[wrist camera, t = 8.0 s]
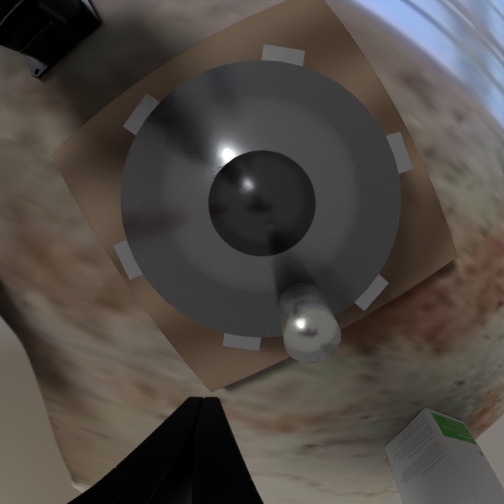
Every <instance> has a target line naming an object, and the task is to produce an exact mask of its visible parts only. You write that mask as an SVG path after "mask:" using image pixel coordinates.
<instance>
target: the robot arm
mask: <svg viewBox="0 0 504 504" xmlns="http://www.w3.org/2000/svg"><path fill="white" fill-rule="evenodd" d="M94 22H95V24H94V25H92V24H93V23H94ZM100 24H101V20H100V18H99V17H98V15H97V13H96V12H95V10H94V8H93V7H92V5H91V3H90V2H89V0H0V45H1V46H4V47H6V48H9V49H12V50H14V51H17V52H20V53H21V54H24V56H25V58H26V61H27V63H28V66H29V68H30V71H31V73H32V76H33V77H34V78H41V77H42V76H43V75H44V74H45V73H46V72H47V71H48V70H49V69H50V68H51V67H52V66H53V65H54V64H55V63H57V62H58V61H59V60H60V59H61V58H62V57H63V56H64V55H65V54H67V53H68V52H69V51H70V50H71V49H72V48H73V47H75V46H76V45H77V44H78V43H79V42H81V41H82V40H83V39H84V38H86V37H87V36H88V35H89V34H91V33H92V32H93V31H94V30H96V29H97V28H98V27H99V26H100ZM38 71H39V73H38ZM37 73H38V74H37ZM67 504H264V503H263V501H262V499H261V497H260V495H259V493H258V491H257V489H256V487H255V485H254V482H253V481H252V478H251V476H250V474H249V471H248V469H247V467H246V464H245V462H244V460H243V457H242V455H241V453H240V450H239V448H238V445H237V443H236V440H235V438H234V435H233V433H232V430H231V428H230V425H229V423H228V420H227V418H226V415H225V412H224V410H223V407H222V405H221V402H220V399H219V398H218V397H205V398H203V397H189V398H187V399H186V400H185V401H184V402H183V403H182V404H181V405H180V406H179V407H178V408H177V409H176V410H175V411H174V412H173V413H172V414H171V415H170V416H169V417H168V418H167V419H166V420H165V421H164V422H163V423H162V424H161V425H160V426H159V427H158V428H157V429H156V430H155V431H154V432H152V433H151V434H150V435H149V436H148V437H147V438H146V439H145V440H144V441H143V442H142V443H141V444H140V445H139V446H138V447H137V448H135V449H134V450H133V451H132V452H131V453H130V454H129V455H128V456H127V457H126V458H125V459H124V460H122V461H121V462H120V463H119V464H118V465H117V466H116V468H113V469H112V470H111V471H110V472H109V473H108V474H107V475H106V476H104V477H103V478H102V479H101V480H100V481H98V482H97V483H96V484H95V485H93V486H92V487H91V488H89V489H88V490H86V491H85V492H84V493H82V494H81V495H79V496H78V497H76V498H75V499H73V500H72V501H70V502H69V503H67Z"/></svg>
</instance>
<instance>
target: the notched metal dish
mask: <svg viewBox="0 0 504 504" xmlns="http://www.w3.org/2000/svg"><path fill="white" fill-rule="evenodd" d="M304 54H305V51H303V50H297V49H291V48H285V47H279V46H272V45H264V47H263V53H262V59H261V60H253V61H241V62H236V63H230V64H225V65H222V66H219V67H216V68H213V69H210V70H207V71H205V72H203V73H201V74H199V75H197V76H195V77H193V78H191V79H189V80H187V81H186V82H184V83H183V84H182V85H180V86H179V87H177V88H176V89H174V90H173V91H172V92H171V93H170V94H168V95H167V96H166V97H165V98H164V99H163V100H162V101H161V102H159V101H157V100H156V99H154V98H153V97H151V96H150V95H148V94H146V95H145V96H144V98H143V99H142V100H141V102H140V103H139V104H138V106H137V107H136V109H135V110H134V111H133V113H132V114H131V116H130V117H129V119H128V120H127V121H126V123H125V124H124V126H123V127H125V128H126V129H128V130H129V131H130V132H132V133H133V134H134V135H136V136H135V138H134V141H133V143H132V145H131V147H130V150H129V152H128V156H127V159H126V162H125V166H124V169H123V176H122V183H121V215H122V223H123V227H124V231H125V235H126V239H124V240H122V241H121V242H119V243H117V244H116V245H114V248H115V250H116V252H117V255H118V257H119V259H120V261H121V263H122V265H123V267H124V269H125V271H126V273H127V275H128V277H129V279H130V280H131V279H133V278H135V277H138V276H140V275H144V276H145V278H146V279H147V280H148V282H149V283H150V284H151V286H152V287H153V288H154V289H155V290H156V291H157V292H158V294H159V295H160V296H161V297H162V298H163V299H164V300H165V301H166V302H168V303H169V304H170V305H171V306H173V307H174V308H175V309H176V310H178V311H179V312H180V313H182V314H184V315H185V316H187V317H188V318H190V319H192V320H193V321H195V322H198V323H200V324H202V325H204V326H206V327H208V328H211V329H214V330H217V331H220V332H224V339H223V346H227V347H234V348H242V349H250V350H259V347H260V342H261V338H262V337H278V336H283V339H284V345H285V349H286V351H287V353H288V354H289V355H290V356H291V357H292V358H293V359H295V360H297V361H299V362H303V363H316V362H320V361H322V360H325V359H326V358H328V357H329V356H331V355H332V354H333V353H334V352H335V351H336V349H337V348H338V346H339V344H340V340H341V331H340V328H339V325H338V323H337V321H336V319H335V316H336V315H338V314H340V313H341V312H343V311H344V310H345V309H346V308H348V307H349V306H350V305H351V304H353V303H355V304H357V305H358V306H359V307H360V308H362V309H363V310H364V311H365V310H366V309H367V307H368V306H369V305H370V304H371V303H372V302H373V301H374V300H375V298H376V297H377V296H378V295H379V294H380V293H381V292H382V290H383V289H384V288H385V287H386V286H387V285H388V282H387V281H386V280H385V279H384V278H383V277H382V276H381V275H380V274H379V273H380V271H381V269H382V267H383V266H384V264H385V262H386V260H387V258H388V256H389V253H390V251H391V249H392V246H393V244H394V240H395V237H396V233H397V229H398V225H399V218H400V210H401V188H400V180H399V174H400V173H402V172H405V171H408V170H411V169H412V166H411V163H410V160H409V156H408V153H407V150H406V147H405V144H404V141H403V139H402V136H401V133H400V132H396V133H391V134H387V135H385V134H384V132H383V130H382V129H381V127H380V125H379V124H378V122H377V121H376V119H375V118H374V117H373V115H372V114H371V113H370V112H369V110H368V109H367V108H366V107H365V106H364V105H363V104H362V103H361V102H360V101H359V100H358V99H357V98H356V97H355V96H354V95H353V94H352V93H351V92H349V91H348V90H347V89H345V88H344V87H343V86H341V85H340V84H339V83H337V82H335V81H334V80H332V79H330V78H328V77H326V76H325V75H323V74H321V73H319V72H316V71H313V70H311V69H308V68H305V67H303V62H304Z"/></svg>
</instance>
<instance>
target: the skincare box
mask: <svg viewBox="0 0 504 504" xmlns="http://www.w3.org/2000/svg"><path fill="white" fill-rule="evenodd" d="M384 449H385V451H386V454H387V457H388V460H389V463H390V466H391V469H392V472H393V475H394V478H395V480H396V484H397V487H398V490H399V493H400V496H401V499H402V502H403V504H504V489H503V487H502V485H501V483H500V482H499V480H498V478H497V476H496V475H495V473H494V471H493V469H492V468H491V466H490V464H489V463H488V461H487V459H486V457H485V456H484V454H483V452H482V451H481V449H480V447H479V446H478V444H477V442H476V441H475V439H474V437H473V436H472V434H471V433H470V431H469V429H468V428H467V426H466V424H465V423H464V422H463V421H461V420H457V419H455V418H453V417H450V416H447V415H444V414H442V413H439V412H436V411H434V410H431V409H429V408H426V407H424V408H423V409H422V410H421V411H420V413H419V414H418V415H417V416H416V417H415V418H414V419H413V420H412V421H411V422H410V423H409V424H408V425H407V426H406V427H405V428H404V429H403V430H402V431H401V432H399V433H398V434H397V435H396V436H395V437H394V438H393V439H392V440H391V441H390V442H389V443H388V444H387V445H385V446H384Z"/></svg>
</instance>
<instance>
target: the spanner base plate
mask: <svg viewBox="0 0 504 504" xmlns="http://www.w3.org/2000/svg"><path fill="white" fill-rule="evenodd" d="M264 45H272V46H279V47H285V48H291V49H297V50H303V51H305V54H304V62H303V67H305V68H308V69H311V70H313V71H316V72H319V73H321V74H323V75H325V76H326V77H328V78H330V79H332V80H334V81H335V82H337V83H339V84H340V85H341V86H343V87H344V88H345V89H347V90H348V91H349V92H351V93H352V94H353V95H354V96H355V97H356V98H357V99H358V100H359V101H360V102H361V103H362V104H363V105H364V106H365V107H366V108H367V109H368V110H369V112H370V113H371V114H372V115H373V117H374V118H375V119H376V121H377V122H378V124H379V125H380V127H381V129H382V130H383V132H384V134H385V135H387V134H391V133H396V132H400V133H401V136H402V139H403V141H404V144H405V147H406V150H407V153H408V156H409V160H410V163H411V166H412V169H411V170H408V171H405V172H402V173H400V174H399V180H400V188H401V210H400V218H399V225H398V229H397V233H396V237H395V240H394V244H393V246H392V249H391V251H390V253H389V256H388V258H387V260H386V262H385V264H384V266H383V267H382V269H381V271H380V273H379V274H380V275H381V276H382V277H383V278H384V279H385V280H386V281H387V282H388V285H387V286H386V287H385V288H384V289H383V290H382V292H381V293H380V294H379V295H378V296H377V297H376V298H375V300H374V301H373V302H372V303H371V304H370V305H369V306H368V307H367V309H366V310H365V311H364V310H363V309H362V308H360V307H359V306H358V305H357V304H355V303H353V304H351V305H350V306H349V307H348V308H346V309H345V310H344V311H343V312H341V313H340V314H338V315H336V316H335V319H336V321H337V323H338V325H339V328H340V330H342V329H344V328H346V327H347V326H349V325H351V324H353V323H354V322H356V321H358V320H360V319H361V318H363V317H365V316H367V315H368V314H370V313H372V312H373V311H375V310H377V309H378V308H380V307H382V306H383V305H385V304H387V303H388V302H390V301H392V300H393V299H395V298H396V297H398V296H400V295H401V294H403V293H404V292H406V291H407V290H409V289H411V288H412V287H414V286H415V285H417V284H418V283H420V282H421V281H423V280H424V279H426V278H427V277H429V276H430V275H432V274H433V273H435V272H436V271H438V270H439V269H441V268H442V267H443V266H445V265H446V264H448V263H449V262H451V261H452V260H453V259H455V258H456V257H457V254H456V250H455V247H454V244H453V241H452V237H451V234H450V231H449V228H448V225H447V222H446V219H445V217H444V214H443V211H442V208H441V206H440V203H439V200H438V198H437V195H436V193H435V190H434V188H433V185H432V183H431V180H430V178H429V175H428V173H427V171H426V168H425V166H424V164H423V162H422V159H421V157H420V155H419V153H418V151H417V148H416V146H415V144H414V142H413V140H412V138H411V136H410V134H409V132H408V130H407V128H406V126H405V124H404V122H403V120H402V118H401V116H400V114H399V113H398V111H397V109H396V107H395V105H394V103H393V102H392V100H391V98H390V96H389V95H388V93H387V91H386V89H385V88H384V86H383V84H382V83H381V81H380V79H379V78H378V76H377V74H376V73H375V71H374V70H373V68H372V66H371V65H370V63H369V62H368V60H367V59H366V57H365V56H364V54H363V53H362V51H361V50H360V48H359V47H358V45H357V44H356V42H355V41H354V39H353V38H352V37H351V35H350V34H349V32H348V31H347V30H346V28H345V27H344V26H343V24H342V23H341V22H340V20H339V19H338V18H337V16H336V15H335V14H334V12H333V11H332V10H331V9H330V7H329V6H328V5H327V4H326V2H325V1H324V0H288V1H285V2H283V3H280V4H278V5H275V6H273V7H271V8H268V9H266V10H264V11H261V12H259V13H257V14H255V15H252V16H250V17H248V18H246V19H244V20H242V21H240V22H237V23H235V24H233V25H231V26H229V27H227V28H225V29H223V30H222V31H220V32H218V33H216V34H214V35H212V36H210V37H208V38H207V39H205V40H203V41H201V42H199V43H198V44H196V45H194V46H192V47H191V48H189V49H187V50H186V51H184V52H182V53H181V54H179V55H177V56H176V57H174V58H173V59H171V60H169V61H168V62H166V63H165V64H163V65H162V66H160V67H159V68H157V69H156V70H154V71H153V72H151V73H150V74H148V75H147V76H145V77H144V78H142V79H141V80H140V81H138V82H137V83H135V84H134V85H133V86H131V87H130V88H129V89H127V90H126V91H124V92H123V93H122V94H120V95H119V96H118V97H117V98H115V99H114V100H113V101H111V102H110V103H109V104H108V105H106V106H105V107H104V108H103V109H101V110H100V111H99V112H98V113H97V114H95V115H94V116H93V117H92V118H91V119H89V120H88V121H87V122H86V123H85V124H84V125H82V126H81V127H80V128H79V129H78V130H77V131H76V132H75V133H73V134H72V135H71V136H70V137H69V138H68V139H67V140H66V141H65V142H64V143H63V144H62V145H60V146H59V147H58V148H57V149H56V150H55V151H54V152H53V153H52V154H51V155H52V157H53V159H54V161H55V163H56V165H57V167H58V169H59V171H60V172H61V174H62V176H63V178H64V180H65V182H66V184H67V186H68V188H69V189H70V191H71V193H72V195H73V197H74V198H75V200H76V202H77V204H78V206H79V207H80V209H81V211H82V213H83V214H84V216H85V218H86V219H87V221H88V223H89V225H90V226H91V228H92V230H93V231H94V233H95V235H96V236H97V238H98V239H99V241H100V243H101V244H102V246H103V247H104V249H105V251H106V252H107V254H108V255H109V257H110V258H111V260H112V262H113V263H114V265H115V266H116V268H117V269H118V271H119V272H120V274H121V275H122V277H123V278H124V280H125V281H126V283H127V284H128V286H129V287H130V288H131V290H132V291H133V293H134V294H135V296H136V297H137V298H138V300H139V301H140V303H141V304H142V306H143V307H144V308H145V310H146V311H147V312H148V314H149V315H150V317H151V318H152V319H153V321H154V322H155V323H156V325H157V326H158V327H159V329H160V330H161V331H162V333H163V334H164V335H165V336H166V338H167V339H168V340H169V342H170V343H171V344H172V346H173V347H174V348H175V349H176V351H177V352H178V353H179V354H180V356H181V357H182V358H183V359H184V361H185V362H186V363H187V364H188V365H189V367H190V368H191V369H192V370H193V372H194V373H195V374H196V375H197V376H198V377H199V379H200V380H201V381H202V382H203V383H204V385H205V386H206V387H207V388H208V389H209V390H210V391H211V392H213V391H216V390H218V389H220V388H223V387H225V386H227V385H230V384H232V383H234V382H237V381H239V380H241V379H244V378H246V377H248V376H250V375H252V374H255V373H257V372H259V371H261V370H263V369H265V368H268V367H270V366H272V365H274V364H276V363H278V362H280V361H282V360H284V359H286V358H288V357H290V355H289V354H288V353H287V351H286V349H285V345H284V339H283V336H278V337H262V338H261V342H260V347H259V350H250V349H242V348H234V347H227V346H223V339H224V332H220V331H217V330H214V329H211V328H208V327H206V326H204V325H202V324H200V323H198V322H195V321H193V320H192V319H190V318H188V317H187V316H185V315H184V314H182V313H180V312H179V311H178V310H176V309H175V308H174V307H173V306H171V305H170V304H169V303H168V302H166V301H165V300H164V299H163V298H162V297H161V296H160V295H159V294H158V292H157V291H156V290H155V289H154V288H153V287H152V286H151V284H150V283H149V282H148V280H147V279H146V278H145V276H144V275H140V276H138V277H135V278H133V279H131V280H130V279H129V277H128V275H127V273H126V271H125V269H124V267H123V265H122V263H121V261H120V259H119V257H118V255H117V252H116V250H115V248H114V245H116V244H117V243H119V242H121V241H122V240H124V239H126V235H125V231H124V227H123V223H122V215H121V183H122V176H123V169H124V166H125V162H126V159H127V156H128V152H129V150H130V147H131V145H132V143H133V141H134V138H135V136H136V135H134V134H133V133H132V132H130V131H129V130H128V129H126V128H125V127H123V126H124V124H125V123H126V121H127V120H128V119H129V117H130V116H131V114H132V113H133V111H134V110H135V109H136V107H137V106H138V104H139V103H140V102H141V100H142V99H143V98H144V96H145V95H146V94H148V95H150V96H151V97H153V98H154V99H156V100H157V101H159V102H161V101H162V100H163V99H164V98H165V97H166V96H167V95H168V94H170V93H171V92H172V91H173V90H174V89H176V88H177V87H179V86H180V85H182V84H183V83H184V82H186V81H187V80H189V79H191V78H193V77H195V76H197V75H199V74H201V73H203V72H205V71H207V70H210V69H213V68H216V67H219V66H222V65H225V64H230V63H236V62H241V61H253V60H261V59H262V53H263V47H264Z"/></svg>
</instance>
